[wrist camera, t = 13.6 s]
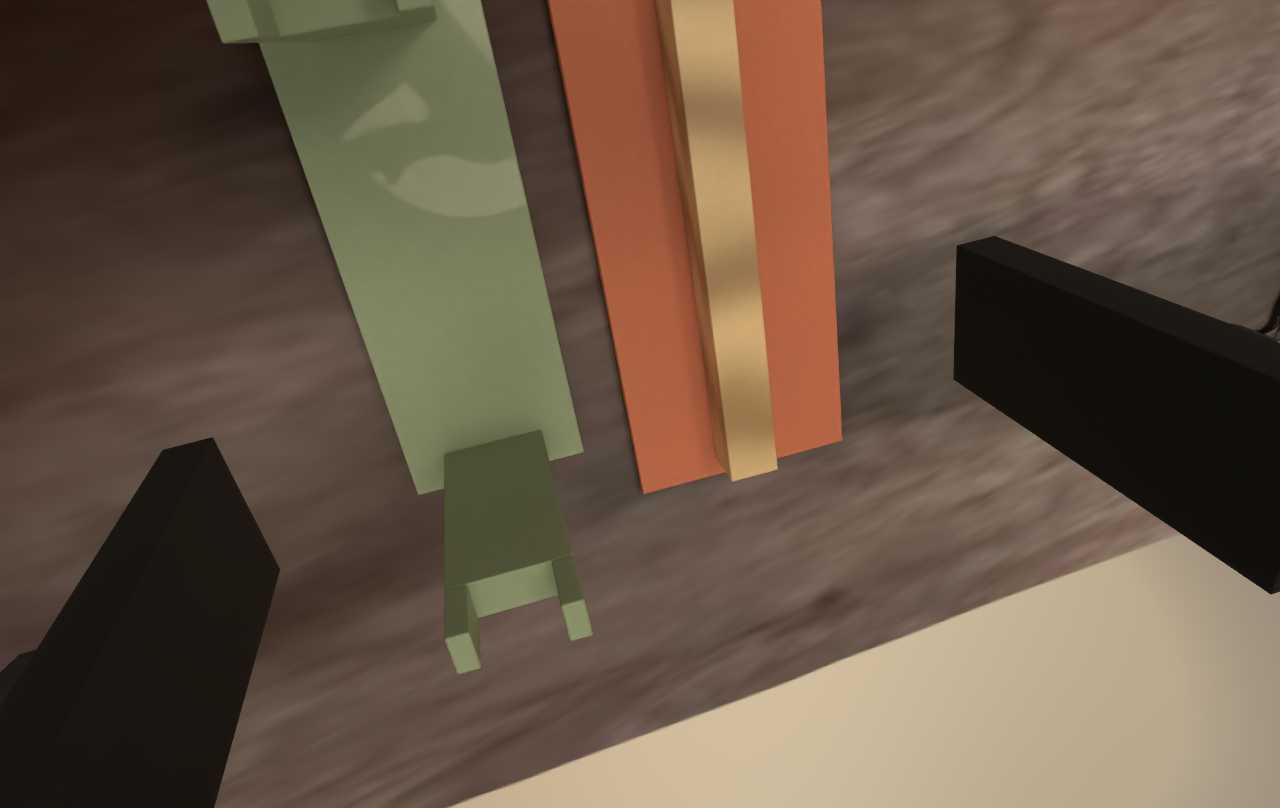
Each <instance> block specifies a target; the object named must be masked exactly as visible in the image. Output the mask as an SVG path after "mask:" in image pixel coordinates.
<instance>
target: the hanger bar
mask: <svg viewBox="0 0 1280 808" xmlns="http://www.w3.org/2000/svg"><path fill="white" fill-rule="evenodd" d="M654 1H655V9H656V16H657V23H658V31H659V38H660V45H661V53H662V60H663V68H664V75H665V82H666V90H667V97H668V104H669V112H670V119H671V126H672V134H673V141H674V148H675V156H676V163H677V170H678V178H679V185H680V192H681V200H682V207H683V214H684V222H685V229H686V236H687V244H688V251H689V258H690V266H691V273H692V280H693V288H694V295H695V303H696V310H697V317H698V325H699V332H700V339H701V347H702V354H703V361H704V369H705V376H706V383H707V391H708V398H709V405H710V413H711V420H712V427H713V435H714V442H715V449H716V457H717V460H718V461H719V463H720V464H721V466H722V467H723V469H724V470H725V472H726V473H727V475H728V476H729V478H730V479H731V481H737V480H740V479H744V478H748V477H752V476H755V475H759V474H763V473H766V472H770V471H774V470H777V458H776V447H775V436H774V426H773V415H772V405H771V394H770V384H769V373H768V362H767V352H766V341H765V331H764V320H763V310H762V299H761V288H760V278H759V267H758V257H757V246H756V235H755V225H754V214H753V204H752V193H751V183H750V172H749V161H748V151H747V140H746V130H745V119H744V109H743V98H742V87H741V77H740V66H739V56H738V45H737V34H736V24H735V13H734V3H733V0H654Z"/></svg>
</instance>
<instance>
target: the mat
mask: <svg viewBox="0 0 1280 808" xmlns="http://www.w3.org/2000/svg"><path fill="white" fill-rule="evenodd" d="M733 3H734V13H735V24H736V34H737V45H738V56H739V66H740V77H741V87H742V98H743V109H744V119H745V130H746V140H747V151H748V161H749V172H750V183H751V193H752V204H753V214H754V225H755V235H756V246H757V257H758V267H759V278H760V288H761V299H762V310H763V320H764V331H765V341H766V352H767V362H768V373H769V384H770V394H771V405H772V415H773V426H774V436H775V447H776V458H779V457H783V456H787V455H791V454H794V453H798V452H802V451H805V450H809V449H813V448H817V447H820V446H824V445H828V444H831V443H835V442H839V441H842V424H841V404H840V383H839V362H838V342H837V321H836V301H835V280H834V259H833V239H832V218H831V197H830V177H829V156H828V135H827V115H826V94H825V73H824V53H823V32H822V11H821V0H733ZM547 5H548V10H549V15H550V20H551V25H552V31H553V36H554V41H555V46H556V51H557V56H558V62H559V67H560V72H561V77H562V82H563V87H564V93H565V98H566V103H567V108H568V113H569V119H570V124H571V129H572V134H573V139H574V144H575V150H576V155H577V160H578V165H579V170H580V176H581V181H582V186H583V191H584V196H585V201H586V207H587V212H588V217H589V222H590V227H591V232H592V238H593V243H594V248H595V253H596V258H597V264H598V269H599V274H600V279H601V284H602V289H603V295H604V300H605V305H606V310H607V315H608V320H609V326H610V331H611V336H612V341H613V346H614V352H615V357H616V362H617V367H618V372H619V377H620V383H621V388H622V393H623V398H624V403H625V408H626V414H627V419H628V424H629V429H630V434H631V440H632V445H633V450H634V455H635V460H636V465H637V471H638V476H639V481H640V486H641V490H642V492H643V493H644V494H646V493H649V492H653V491H657V490H660V489H664V488H668V487H672V486H675V485H679V484H683V483H686V482H690V481H694V480H698V479H701V478H705V477H709V476H712V475H716V474H720V473H724V472H725V470H724V469H723V467H722V466H721V464H720V463H719V461H718V460H717V457H716V449H715V442H714V435H713V427H712V420H711V413H710V405H709V398H708V391H707V383H706V376H705V369H704V361H703V354H702V347H701V339H700V332H699V325H698V317H697V310H696V303H695V295H694V288H693V280H692V273H691V266H690V258H689V251H688V244H687V236H686V229H685V222H684V214H683V207H682V200H681V192H680V185H679V178H678V170H677V163H676V156H675V148H674V141H673V134H672V126H671V119H670V112H669V104H668V97H667V90H666V82H665V75H664V68H663V60H662V53H661V45H660V38H659V31H658V23H657V16H656V9H655V1H654V0H547Z"/></svg>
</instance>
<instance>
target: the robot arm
mask: <svg viewBox="0 0 1280 808" xmlns="http://www.w3.org/2000/svg"><path fill="white" fill-rule="evenodd" d="M954 380H955V381H957V382H958V383H960V384H961V385H963V386H964V387H965V388H967V389H968V390H970V391H971V392H973V393H974V394H976V395H977V396H979V397H980V398H982V399H983V400H985V401H986V402H988V403H989V404H991V405H992V406H993V407H995V408H996V409H998V410H999V411H1001V412H1002V413H1004V414H1005V415H1007V416H1008V417H1010V418H1011V419H1013V420H1014V421H1016V422H1017V423H1019V424H1020V425H1022V426H1023V427H1024V428H1026V429H1027V430H1029V431H1030V432H1032V433H1033V434H1035V435H1036V436H1038V437H1039V438H1041V439H1042V440H1044V441H1045V442H1047V443H1048V444H1050V445H1051V446H1053V447H1054V448H1055V449H1057V450H1058V451H1060V452H1061V453H1063V454H1064V455H1066V456H1067V457H1069V458H1070V459H1072V460H1073V461H1075V462H1076V463H1078V464H1079V465H1081V466H1082V467H1084V468H1085V469H1086V470H1088V471H1089V472H1091V473H1092V474H1094V475H1095V476H1097V477H1098V478H1100V479H1101V480H1103V481H1104V482H1106V483H1107V484H1109V485H1110V486H1112V487H1113V488H1115V489H1116V490H1117V491H1119V492H1120V493H1122V494H1123V495H1125V496H1126V497H1128V498H1129V499H1131V500H1132V501H1134V502H1135V503H1137V504H1138V505H1140V506H1141V507H1143V508H1144V509H1146V510H1147V511H1148V512H1150V513H1151V514H1153V515H1154V516H1156V517H1157V518H1159V519H1160V520H1162V521H1163V522H1165V523H1166V524H1168V525H1169V526H1171V527H1172V528H1174V529H1175V530H1177V531H1178V532H1179V533H1181V534H1182V535H1184V536H1186V537H1187V538H1188V539H1190V540H1191V541H1193V542H1194V543H1196V544H1197V545H1199V546H1200V547H1202V548H1203V549H1205V550H1206V551H1207V552H1209V553H1210V554H1212V555H1213V556H1215V557H1216V558H1218V559H1219V560H1221V561H1222V562H1224V563H1225V564H1227V565H1228V566H1230V567H1231V568H1233V569H1234V570H1236V571H1237V572H1238V573H1240V574H1242V575H1243V576H1244V577H1246V578H1248V579H1249V580H1250V581H1252V582H1253V583H1255V584H1256V585H1258V586H1260V587H1261V588H1262V589H1264V590H1265V591H1267V592H1268V593H1269V594H1274V593H1277V592H1280V342H1277V339H1276V338H1273V337H1270V336H1267V335H1265V334H1262V333H1259V332H1257V331H1254V330H1251V329H1249V328H1246V327H1243V326H1240V325H1235V324H1230V323H1226V322H1223V321H1221V320H1218V319H1215V318H1213V317H1210V316H1207V315H1205V314H1202V313H1199V312H1197V311H1194V310H1191V309H1189V308H1186V307H1183V306H1181V305H1178V304H1175V303H1173V302H1170V301H1167V300H1165V299H1162V298H1159V297H1157V296H1154V295H1151V294H1148V293H1146V292H1143V291H1140V290H1138V289H1135V288H1132V287H1130V286H1127V285H1124V284H1122V283H1119V282H1116V281H1114V280H1111V279H1108V278H1106V277H1103V276H1100V275H1098V274H1095V273H1092V272H1090V271H1087V270H1084V269H1082V268H1079V267H1076V266H1074V265H1071V264H1068V263H1066V262H1063V261H1060V260H1057V259H1055V258H1052V257H1049V256H1047V255H1044V254H1041V253H1039V252H1036V251H1033V250H1031V249H1028V248H1025V247H1023V246H1020V245H1017V244H1015V243H1012V242H1009V241H1007V240H1004V239H1001V238H999V237H996V236H992V237H989V238H985V239H981V240H977V241H973V242H969V243H965V244H961V245H958V246H957V255H956V297H955V339H954ZM279 572H280V568H279V566H278V565H277V563H276V561H275V559H274V557H273V555H272V553H271V551H270V549H269V547H268V545H267V543H266V541H265V539H264V537H263V535H262V533H261V531H260V529H259V527H258V525H257V523H256V521H255V519H254V517H253V515H252V513H251V511H250V510H249V508H248V506H247V504H246V502H245V500H244V498H243V496H242V494H241V492H240V490H239V488H238V486H237V484H236V482H235V480H234V478H233V476H232V474H231V472H230V470H229V468H228V466H227V464H226V462H225V460H224V458H223V456H222V454H221V453H220V451H219V449H218V447H217V445H216V443H215V441H214V439H213V437H212V438H208V439H204V440H200V441H196V442H192V443H188V444H184V445H181V446H177V447H173V448H169V449H165V450H163V451H162V452H161V454H160V455H159V457H158V458H157V460H156V462H155V463H154V465H153V466H152V468H151V470H150V471H149V473H148V474H147V476H146V477H145V479H144V481H143V482H142V484H141V485H140V487H139V488H138V490H137V492H136V493H135V495H134V496H133V498H132V500H131V501H130V503H129V504H128V506H127V507H126V509H125V511H124V512H123V514H122V515H121V517H120V519H119V520H118V522H117V523H116V525H115V526H114V528H113V530H112V531H111V533H110V534H109V536H108V537H107V539H106V541H105V542H104V544H103V545H102V547H101V549H100V550H99V552H98V553H97V555H96V556H95V558H94V560H93V561H92V563H91V564H90V566H89V568H88V569H87V571H86V572H85V574H84V575H83V577H82V579H81V580H80V582H79V583H78V585H77V587H76V588H75V590H74V591H73V593H72V594H71V596H70V598H69V599H68V601H67V602H66V604H65V605H64V607H63V609H62V610H61V612H60V613H59V615H58V617H57V618H56V620H55V621H54V623H53V624H52V626H51V628H50V629H49V631H48V632H47V634H46V636H45V637H44V639H43V640H42V642H41V643H40V645H39V647H38V648H37V650H34V651H31V652H27V653H24V654H20V655H18V656H17V657H16V658H15V659H14V660H13V661H12V662H11V663H10V664H9V665H8V666H7V667H6V668H5V669H3V670H2V671H1V672H0V808H214V806H215V802H216V799H217V795H218V791H219V788H220V784H221V781H222V777H223V773H224V770H225V766H226V763H227V759H228V755H229V752H230V748H231V745H232V741H233V737H234V734H235V730H236V727H237V723H238V719H239V716H240V712H241V709H242V705H243V701H244V698H245V694H246V691H247V687H248V683H249V680H250V676H251V673H252V669H253V665H254V662H255V658H256V655H257V651H258V647H259V644H260V640H261V637H262V633H263V629H264V626H265V622H266V619H267V615H268V611H269V608H270V604H271V601H272V597H273V593H274V590H275V586H276V583H277V579H278V575H279Z"/></svg>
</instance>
